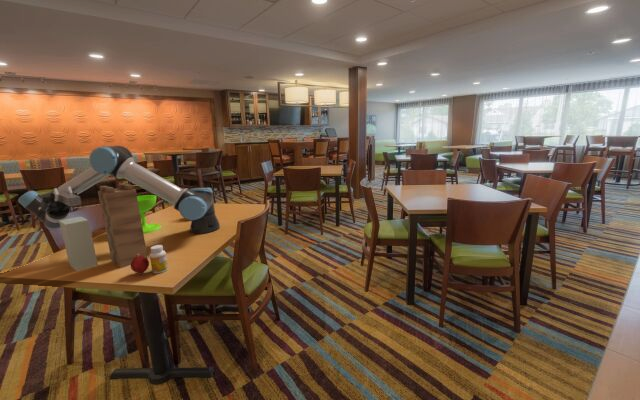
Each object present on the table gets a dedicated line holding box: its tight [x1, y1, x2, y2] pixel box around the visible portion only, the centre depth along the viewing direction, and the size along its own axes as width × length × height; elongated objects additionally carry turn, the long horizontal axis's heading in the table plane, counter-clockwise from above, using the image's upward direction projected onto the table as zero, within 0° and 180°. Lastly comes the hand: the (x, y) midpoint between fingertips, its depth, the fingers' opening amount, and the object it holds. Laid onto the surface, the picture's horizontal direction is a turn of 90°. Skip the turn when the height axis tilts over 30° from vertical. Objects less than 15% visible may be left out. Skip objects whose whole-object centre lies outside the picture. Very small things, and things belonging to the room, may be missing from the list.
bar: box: [58, 191, 83, 207], centre depth 114 cm, size 22×4×3 cm, turn 52°
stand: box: [97, 182, 149, 268], centre depth 119 cm, size 10×10×32 cm
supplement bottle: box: [149, 244, 169, 274], centre depth 111 cm, size 5×5×10 cm
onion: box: [130, 254, 150, 275], centre depth 110 cm, size 6×6×8 cm
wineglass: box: [137, 194, 162, 234], centre depth 162 cm, size 16×16×18 cm
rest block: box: [59, 216, 99, 272], centre depth 118 cm, size 10×7×19 cm
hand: (63, 190), depth 116 cm, fingers closed on bar, 3 cm apart
